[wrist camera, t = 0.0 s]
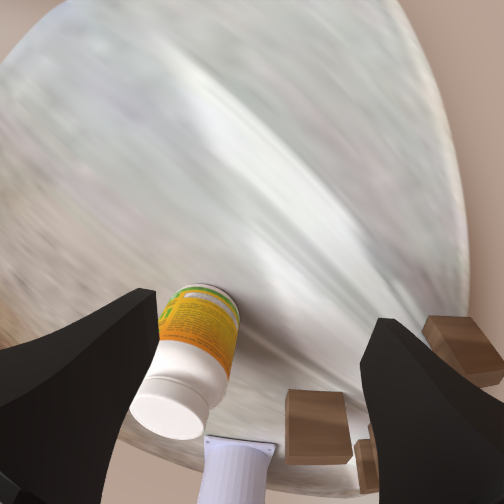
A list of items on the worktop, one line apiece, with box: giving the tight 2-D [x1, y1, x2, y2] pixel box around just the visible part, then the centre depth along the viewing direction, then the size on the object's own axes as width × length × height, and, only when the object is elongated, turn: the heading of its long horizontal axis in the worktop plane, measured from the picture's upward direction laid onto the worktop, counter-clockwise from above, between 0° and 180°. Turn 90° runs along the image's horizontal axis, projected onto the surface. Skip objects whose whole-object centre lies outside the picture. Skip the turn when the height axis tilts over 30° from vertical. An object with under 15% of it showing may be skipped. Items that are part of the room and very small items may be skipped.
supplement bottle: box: [130, 284, 240, 440], centre depth 17 cm, size 5×5×10 cm
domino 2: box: [354, 439, 379, 494], centre depth 24 cm, size 2×5×7 cm, turn 84°
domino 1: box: [285, 389, 353, 465], centre depth 21 cm, size 2×5×7 cm, turn 84°
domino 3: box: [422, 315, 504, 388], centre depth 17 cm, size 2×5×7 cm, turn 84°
